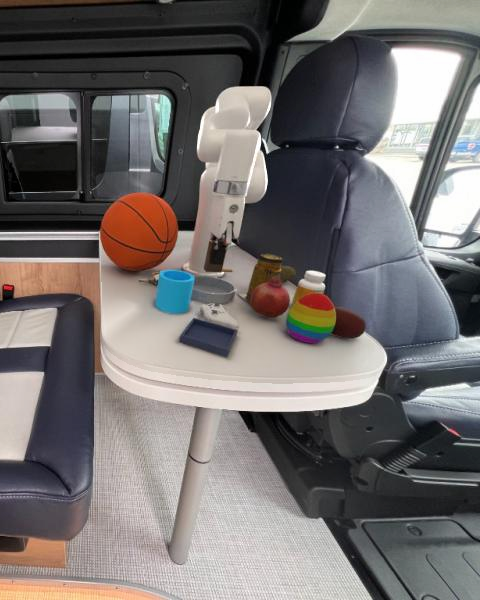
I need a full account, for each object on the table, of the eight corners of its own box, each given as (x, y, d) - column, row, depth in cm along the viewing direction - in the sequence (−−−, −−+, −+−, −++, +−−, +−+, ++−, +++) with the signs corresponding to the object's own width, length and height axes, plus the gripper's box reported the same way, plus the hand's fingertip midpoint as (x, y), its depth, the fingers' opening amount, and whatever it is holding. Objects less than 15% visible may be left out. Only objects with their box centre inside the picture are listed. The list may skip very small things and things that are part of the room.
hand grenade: (294, 283, 97) (262, 289, 96) (283, 270, 100) (252, 277, 100) (301, 271, 93) (268, 278, 93) (289, 259, 97) (257, 265, 96)
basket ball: (78, 249, 108) (95, 179, 94) (131, 244, 120) (154, 181, 106) (120, 291, 93) (147, 215, 79) (175, 280, 106) (208, 212, 92)
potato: (362, 319, 70) (347, 343, 70) (318, 300, 73) (304, 323, 73) (380, 319, 63) (362, 346, 63) (330, 298, 66) (314, 323, 67)
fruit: (283, 313, 78) (296, 275, 74) (284, 328, 72) (298, 286, 67) (247, 306, 81) (257, 268, 77) (245, 319, 75) (256, 279, 71)
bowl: (190, 281, 96) (192, 272, 94) (237, 292, 89) (240, 282, 88) (176, 296, 86) (178, 286, 84) (227, 309, 79) (230, 298, 78)
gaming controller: (243, 317, 67) (209, 314, 67) (239, 333, 68) (205, 330, 69) (228, 298, 76) (198, 295, 77) (224, 313, 78) (195, 310, 78)
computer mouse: (136, 278, 96) (137, 265, 95) (185, 280, 96) (188, 267, 94) (139, 288, 90) (141, 274, 88) (192, 290, 89) (195, 276, 88)
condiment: (264, 294, 88) (276, 252, 83) (282, 308, 81) (297, 263, 75) (238, 294, 88) (249, 252, 83) (254, 308, 80) (267, 262, 75)
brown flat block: (203, 268, 86) (209, 239, 83) (229, 269, 86) (237, 240, 82) (205, 272, 84) (212, 242, 81) (233, 273, 84) (240, 243, 80)
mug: (187, 316, 75) (194, 284, 72) (152, 310, 78) (157, 278, 74) (190, 296, 86) (195, 267, 82) (159, 291, 88) (163, 263, 85)
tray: (192, 324, 72) (193, 317, 71) (236, 337, 67) (237, 330, 67) (179, 342, 65) (180, 334, 64) (227, 357, 61) (229, 350, 60)
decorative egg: (333, 339, 67) (352, 296, 63) (317, 351, 63) (336, 306, 59) (292, 323, 73) (306, 282, 69) (274, 333, 69) (289, 291, 65)
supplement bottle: (307, 316, 77) (321, 278, 73) (285, 307, 81) (297, 271, 77) (320, 312, 79) (334, 275, 75) (298, 303, 84) (310, 268, 80)
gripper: (261, 194, 69) (240, 274, 77) (234, 184, 83) (218, 253, 91) (225, 192, 69) (208, 272, 77) (204, 183, 83) (192, 251, 91)
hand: (214, 261), depth 84 cm, fingers closed on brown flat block, 2 cm apart
